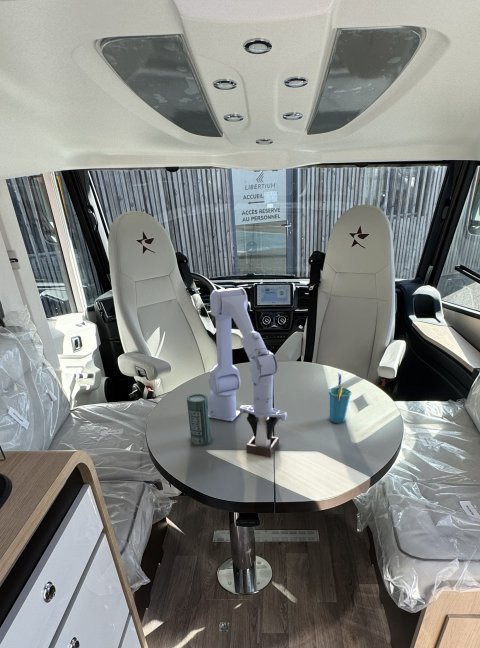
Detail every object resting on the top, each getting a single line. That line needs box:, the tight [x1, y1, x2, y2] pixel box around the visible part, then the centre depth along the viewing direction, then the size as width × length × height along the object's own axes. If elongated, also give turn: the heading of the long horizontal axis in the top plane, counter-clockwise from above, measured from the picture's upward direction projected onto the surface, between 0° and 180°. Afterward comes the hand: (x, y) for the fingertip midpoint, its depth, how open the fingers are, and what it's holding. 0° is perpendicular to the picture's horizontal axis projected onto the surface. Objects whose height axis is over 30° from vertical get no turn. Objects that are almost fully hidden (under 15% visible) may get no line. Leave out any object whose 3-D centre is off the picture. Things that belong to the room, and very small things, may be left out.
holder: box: [245, 435, 280, 458], centre depth 139 cm, size 8×8×3 cm
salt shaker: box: [255, 417, 271, 448], centre depth 137 cm, size 5×5×11 cm
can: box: [186, 393, 212, 446], centre depth 140 cm, size 6×6×15 cm
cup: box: [328, 372, 352, 424], centre depth 154 cm, size 14×8×15 cm, turn 179°
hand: (262, 437), depth 138 cm, fingers closed on salt shaker, 4 cm apart
